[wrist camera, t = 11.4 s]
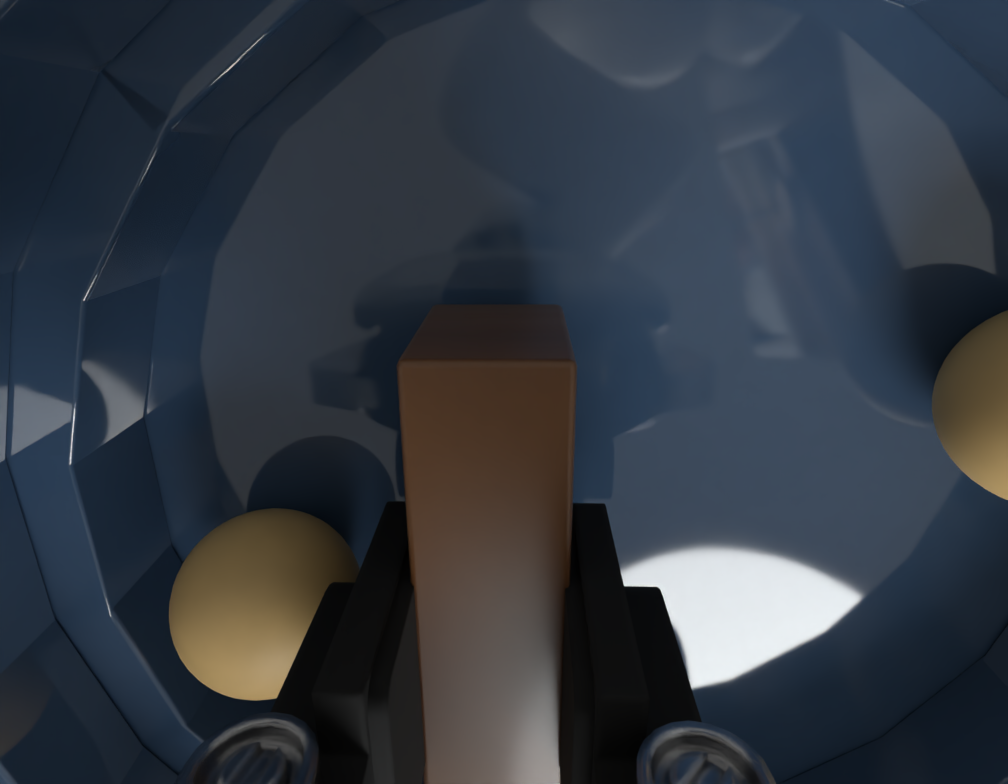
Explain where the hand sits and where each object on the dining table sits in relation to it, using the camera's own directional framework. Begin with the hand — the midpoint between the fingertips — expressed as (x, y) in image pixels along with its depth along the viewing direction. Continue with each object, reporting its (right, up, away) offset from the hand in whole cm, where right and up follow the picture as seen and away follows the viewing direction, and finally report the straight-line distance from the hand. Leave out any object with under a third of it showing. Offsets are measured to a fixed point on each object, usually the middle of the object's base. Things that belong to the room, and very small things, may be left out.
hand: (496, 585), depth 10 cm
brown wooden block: (0, 0, +1) cm, 1 cm away
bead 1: (-4, 0, 0) cm, 4 cm away
